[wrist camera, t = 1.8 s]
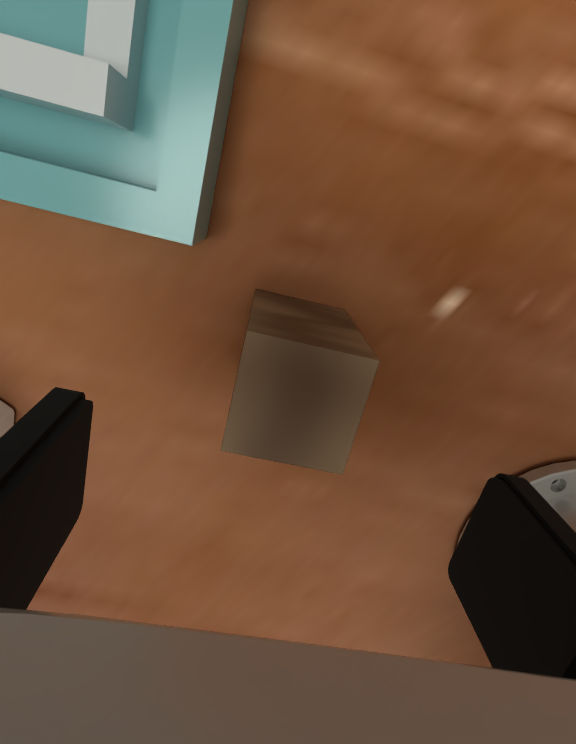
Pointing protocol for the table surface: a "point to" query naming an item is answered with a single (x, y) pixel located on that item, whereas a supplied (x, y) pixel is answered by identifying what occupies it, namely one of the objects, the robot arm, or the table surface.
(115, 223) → the candle dish
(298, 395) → the brown wooden block
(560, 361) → the table surface
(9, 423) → the jar
